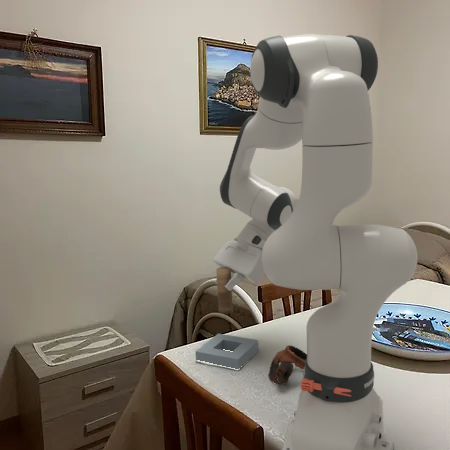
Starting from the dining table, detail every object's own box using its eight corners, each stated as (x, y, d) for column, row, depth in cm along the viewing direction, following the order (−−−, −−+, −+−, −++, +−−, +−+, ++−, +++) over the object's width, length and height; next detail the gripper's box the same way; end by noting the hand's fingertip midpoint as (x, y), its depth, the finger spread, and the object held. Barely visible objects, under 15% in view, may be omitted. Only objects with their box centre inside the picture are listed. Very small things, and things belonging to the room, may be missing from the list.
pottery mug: (271, 368, 111) (287, 339, 110) (304, 391, 108) (321, 361, 107) (256, 379, 100) (274, 347, 99) (293, 405, 97) (312, 372, 96)
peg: (228, 314, 113) (226, 271, 111) (216, 312, 115) (213, 270, 113) (235, 309, 116) (233, 267, 115) (222, 307, 118) (220, 266, 116)
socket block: (238, 371, 110) (238, 359, 109) (196, 362, 115) (195, 351, 115) (258, 350, 120) (258, 340, 120) (218, 343, 126) (218, 333, 125)
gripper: (227, 230, 125) (196, 270, 122) (267, 241, 107) (232, 289, 104) (242, 243, 127) (212, 283, 125) (283, 257, 109) (250, 304, 107)
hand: (222, 286), depth 114 cm, fingers closed on peg, 4 cm apart
